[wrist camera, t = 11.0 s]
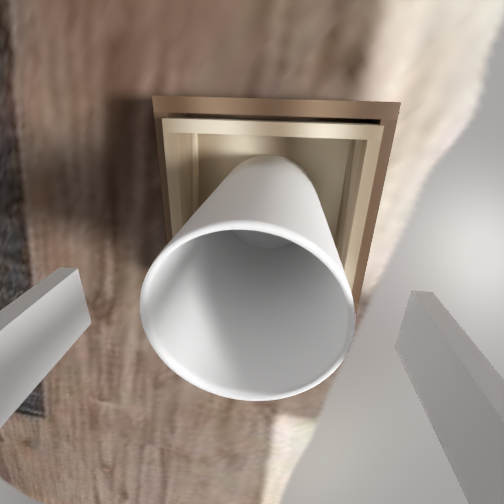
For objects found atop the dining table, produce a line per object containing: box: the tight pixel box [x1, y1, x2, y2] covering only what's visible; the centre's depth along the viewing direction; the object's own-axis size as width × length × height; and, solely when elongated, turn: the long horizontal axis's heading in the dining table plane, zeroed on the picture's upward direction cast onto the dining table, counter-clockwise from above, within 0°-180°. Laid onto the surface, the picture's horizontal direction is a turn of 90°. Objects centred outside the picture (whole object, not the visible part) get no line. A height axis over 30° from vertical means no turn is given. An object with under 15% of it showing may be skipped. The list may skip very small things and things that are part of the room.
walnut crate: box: [152, 95, 401, 313], centre depth 25 cm, size 16×16×5 cm
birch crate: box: [162, 116, 384, 293], centre depth 24 cm, size 13×13×6 cm
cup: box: [140, 155, 355, 401], centre depth 19 cm, size 8×8×16 cm
